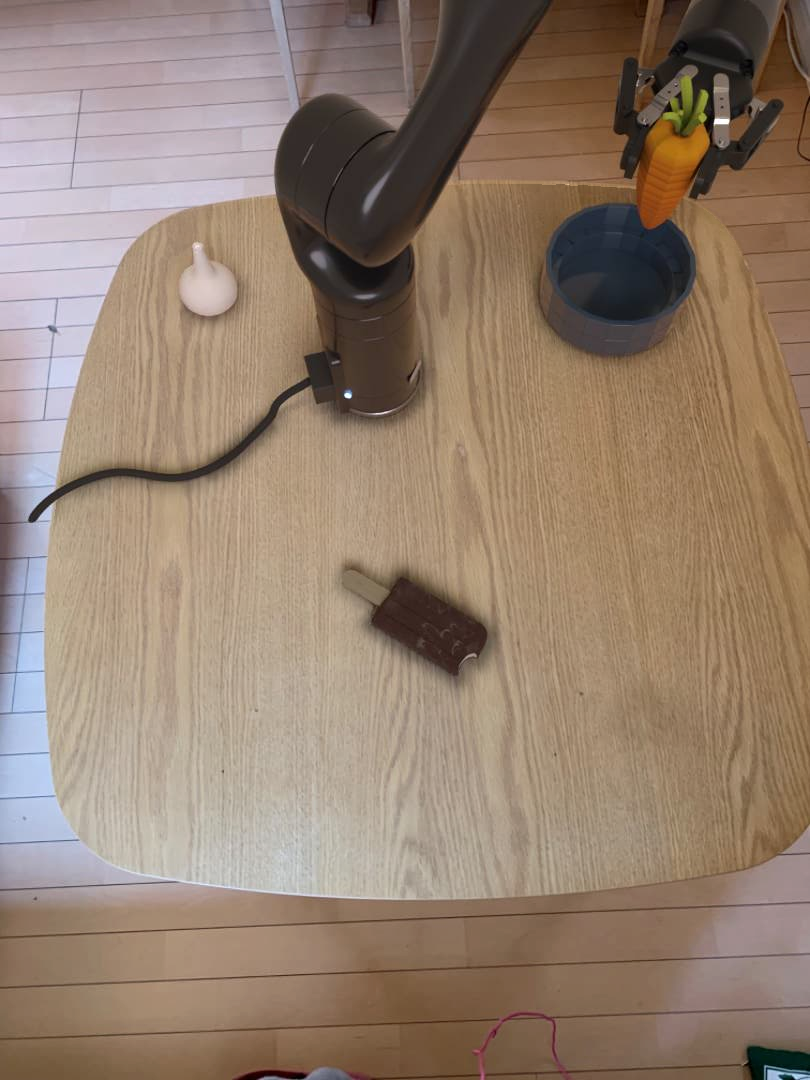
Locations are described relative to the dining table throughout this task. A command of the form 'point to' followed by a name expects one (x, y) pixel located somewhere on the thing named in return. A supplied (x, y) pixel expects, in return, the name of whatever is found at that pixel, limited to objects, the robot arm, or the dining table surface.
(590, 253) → the bowl
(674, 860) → the dining table surface
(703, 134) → the carrot
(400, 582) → the ice cream bar
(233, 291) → the garlic bulb
